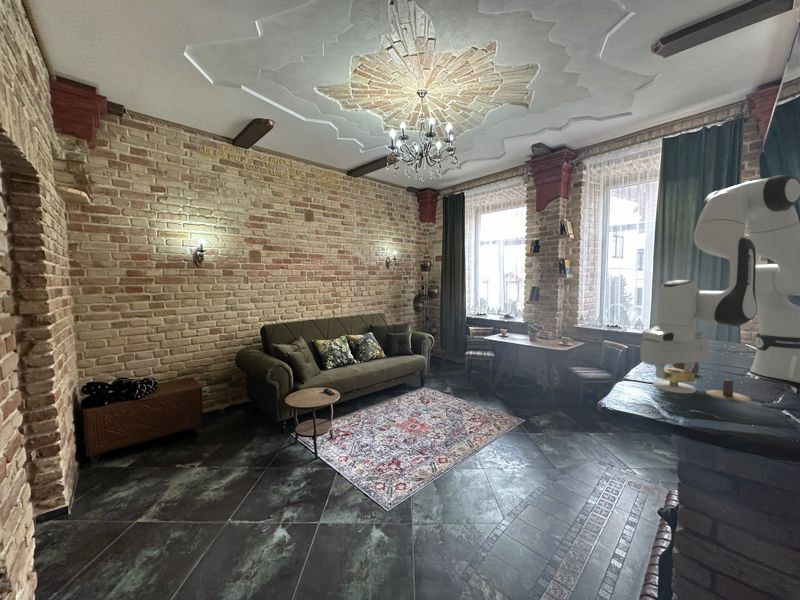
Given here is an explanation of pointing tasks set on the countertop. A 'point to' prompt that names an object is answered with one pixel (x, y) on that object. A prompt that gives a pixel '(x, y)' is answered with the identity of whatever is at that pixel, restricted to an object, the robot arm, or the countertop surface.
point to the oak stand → (728, 393)
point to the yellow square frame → (678, 376)
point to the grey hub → (674, 385)
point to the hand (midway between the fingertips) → (674, 376)
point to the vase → (682, 365)
